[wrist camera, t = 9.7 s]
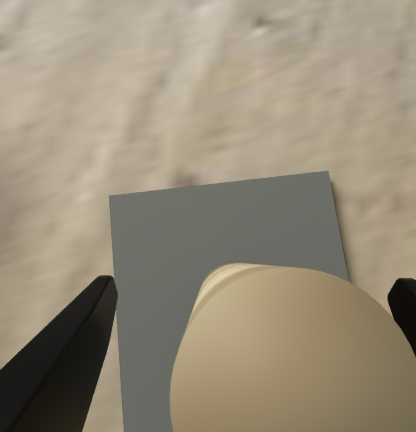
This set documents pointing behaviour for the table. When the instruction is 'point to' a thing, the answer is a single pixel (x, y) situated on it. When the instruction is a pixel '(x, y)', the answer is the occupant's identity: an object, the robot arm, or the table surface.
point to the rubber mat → (203, 265)
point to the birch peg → (290, 357)
